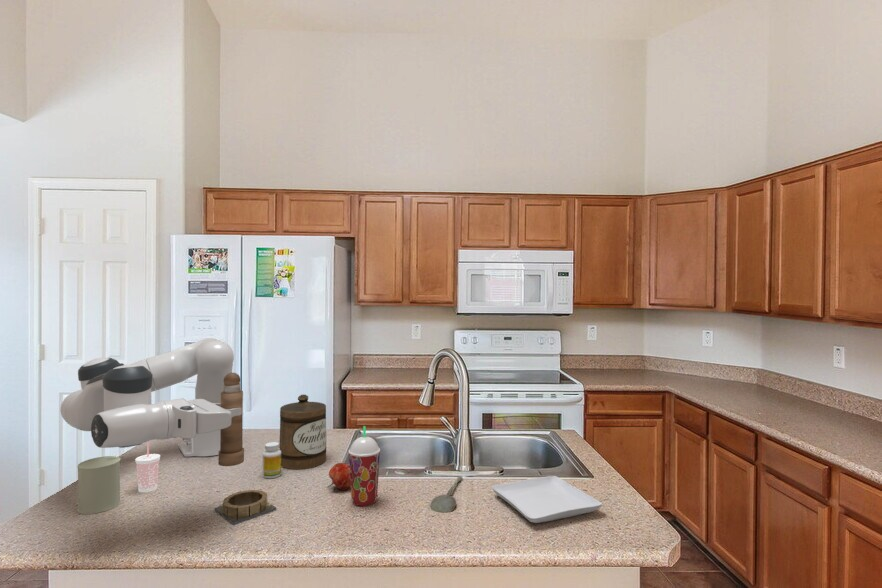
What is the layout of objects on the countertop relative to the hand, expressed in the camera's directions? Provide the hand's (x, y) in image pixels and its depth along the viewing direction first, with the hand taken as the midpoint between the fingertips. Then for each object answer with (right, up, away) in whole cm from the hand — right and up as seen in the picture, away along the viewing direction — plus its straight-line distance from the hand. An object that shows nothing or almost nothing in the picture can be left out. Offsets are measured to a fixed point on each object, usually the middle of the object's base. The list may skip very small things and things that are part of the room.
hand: (235, 408), depth 124 cm
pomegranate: (+25, -26, +13) cm, 38 cm away
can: (-36, -26, +1) cm, 44 cm away
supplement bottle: (+2, -26, +22) cm, 34 cm away
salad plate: (+80, -26, +2) cm, 84 cm away
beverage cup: (-30, -26, +12) cm, 41 cm away
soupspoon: (+56, -26, +8) cm, 62 cm away
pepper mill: (-1, -14, -1) cm, 14 cm away
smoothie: (+33, -26, +4) cm, 42 cm away
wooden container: (+8, -26, +34) cm, 43 cm away
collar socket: (+3, -26, -1) cm, 26 cm away
